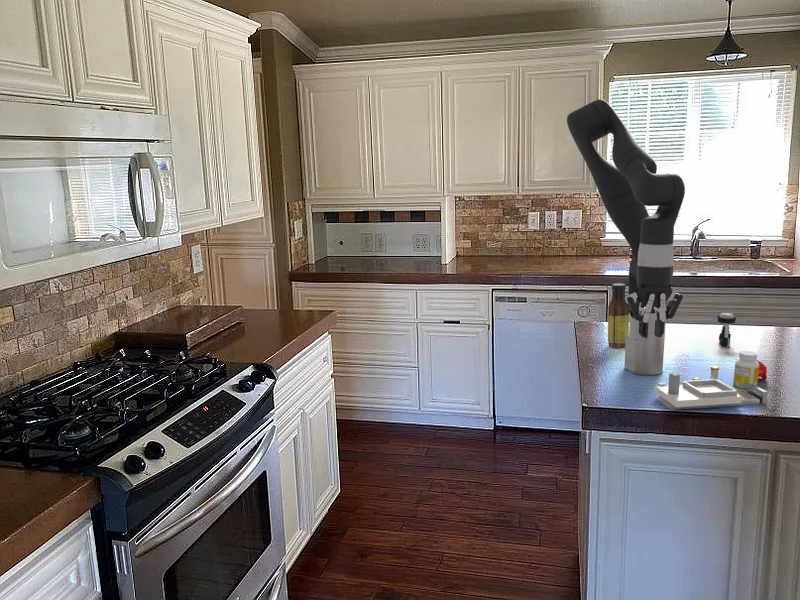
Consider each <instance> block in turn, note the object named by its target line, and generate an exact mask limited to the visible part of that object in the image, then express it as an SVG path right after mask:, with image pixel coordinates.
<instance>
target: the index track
mask: <svg viewBox="0 0 800 600" xmlns="http://www.w3.org/2000/svg"><path fill="white" fill-rule="evenodd" d="M719 371H720V367H719V366H717V365H713V366H712V365H711V366H710V377H709V379H717V380H719ZM737 394H738V395H740V396H742V400H741V403H735V404H719V405H703V406H688V407H675V406H674V405H672V404H671V403H669V402H668V401H666V400H665V399H663V398H662V397H660V396H659V395H658V402H659V403H661V405H664V406H665V407H667V408H668V409H669V410H671V411H675V410H689V409H690V410H691V409H705V408H708V409H709V408H720V407H721V408H722V407H736V406H750V405H751V406H753V405H754V406H755V405H760V404H762V405H766V404H767V403H768V402H767V399H768V391H767V390H766V389H763V388H761V387H759V386H758V385H757V386H755V385H753V384H748V385H747V392H745V391H737Z"/></svg>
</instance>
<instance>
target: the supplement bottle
mask: <svg viewBox="0 0 800 600" xmlns="http://www.w3.org/2000/svg"><path fill="white" fill-rule="evenodd" d="M755 360H758V353H756V352H755V351H752V350H751V351H750V350H741V351H739V352H738V359H737V360H736V361H735V362H734V372H733V381H732V382H733V384H732V388H734V389H736V390H737V391H745V392H747V385H748V384H753V385H755V386H757V387H758V383H757V382H759V379H758V378H759V377H758V372H759V363H758V362H757V361H755Z"/></svg>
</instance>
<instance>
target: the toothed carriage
mask: <svg viewBox="0 0 800 600" xmlns="http://www.w3.org/2000/svg"><path fill="white" fill-rule="evenodd" d="M654 394H656V395H657V396H658V397H659V396H660V397H662V398H663V399H665V400H666V401H668V402H669V403H671V404H672V405H674V406H675V407H688V406H703V405H719V404H735V403H741V400H742V396H740V395H738V394H737V390H736V389H734V388H733V386H732V387H731V385H728V384H727V383H724V382H723V381H720V380H719V379H718V380H717V379H710V378H709V379H701V378H700V377H692V379H691V380H684V381H681V374H679V373H677V372H670V373H669V374H668V385H666V383H665V382H657V386H656V385H655V386H654Z"/></svg>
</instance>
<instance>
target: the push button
mask: <svg viewBox="0 0 800 600" xmlns="http://www.w3.org/2000/svg"><path fill="white" fill-rule="evenodd" d="M716 319H717V322H718V323H719V324H721V325H722V329H721V332H719V335H718V345H719V346H722V348H730V345H731V336H732V335H731V333H730V332H731V331H730V325H733V324H735V323H736V320H737V317H735V316H734V314H733V313H729V312H721V313H720V314H719V315H717V317H716Z"/></svg>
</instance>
